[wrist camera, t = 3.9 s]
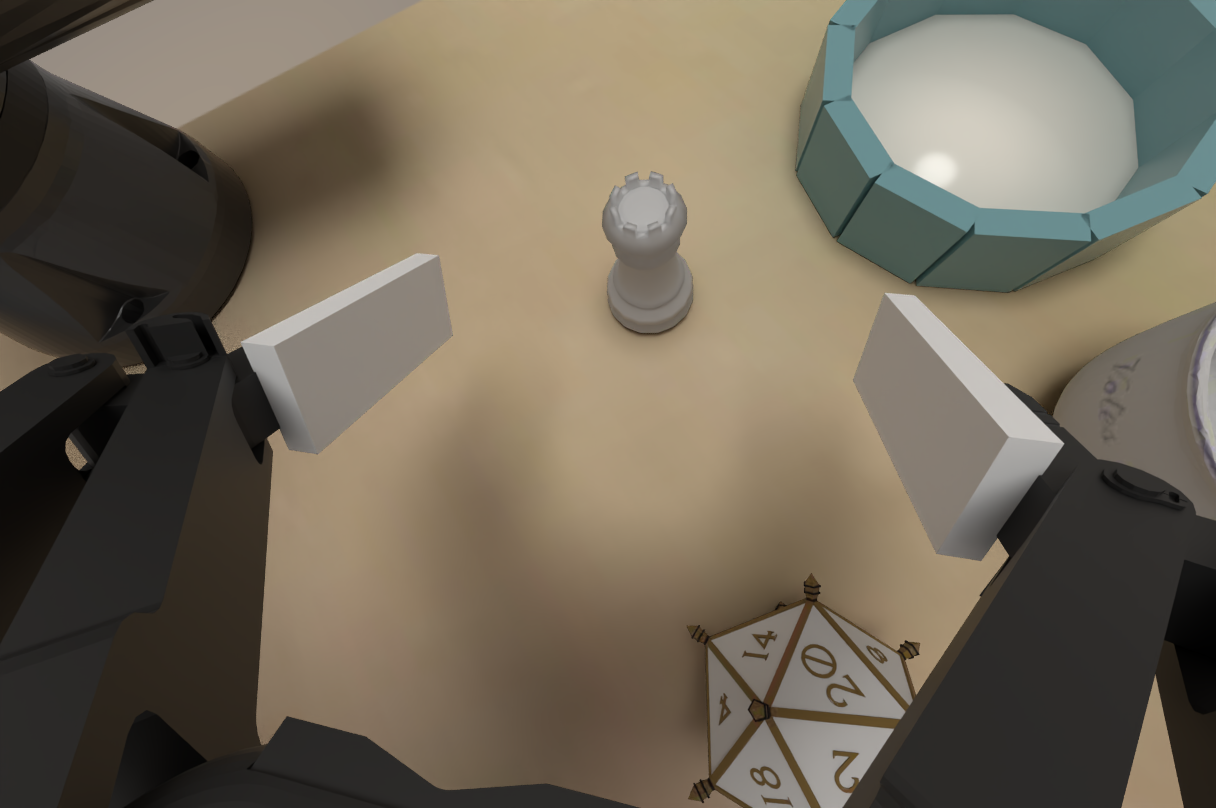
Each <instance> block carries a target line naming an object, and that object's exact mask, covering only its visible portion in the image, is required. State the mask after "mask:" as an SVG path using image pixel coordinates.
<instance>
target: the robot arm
mask: <svg viewBox="0 0 1216 808" xmlns="http://www.w3.org/2000/svg"><path fill="white" fill-rule="evenodd" d="M151 1H153V0H0V333H2V334H4V335H6V336H8V337H10V338H12V339H13V340H15V341H17V342H19V343H21V344H23V345H25V346H27V347H29V348H31V349H34V350H37V351H39V352H42V353H45V354H48V355H52V356H56V357H60V358H57V359H55V360H53V361H51V362H50V363H48V364H45V365H43V366H41V367H39V368H37V369H35V370H33V371H31V372H30V373H28V374H27V375H25V376H23V377H22V378H20V379H19V380H17V381H16V382H14V383H13V384H11V385H10V386H8V387H7V388H5V389H4V390H2V391H1V392H0V808H639V807H635V806H631V805H627V804H623V803H619V802H616V801H612V800H608V799H604V798H600V797H596V796H592V795H589V794H585V793H581V792H577V791H573V790H569V789H565V788H562V787H558V786H554V785H550V784H534V785H520V786H505V787H491V788H477V789H463V790H443V789H439V788H437V787H435V786H433V785H432V784H430V783H429V782H428V781H426V780H425V779H423V778H422V777H421V776H419V775H418V774H417V773H415V772H414V771H412V770H411V769H410V768H408V767H407V766H406V765H404V764H403V763H401V762H400V761H399V760H397V759H396V758H395V757H393V756H392V755H390V754H389V753H388V752H386V751H385V750H384V749H382V748H381V747H379V746H378V745H377V744H375V743H374V742H373V741H371V740H370V739H368V738H367V737H365V736H361V735H357V734H353V733H349V732H346V731H342V730H338V729H334V728H330V727H326V726H322V725H319V724H315V723H311V722H307V721H303V720H299V719H295V718H292V717H288V716H287V717H286V719H285V720H284V721H283V723H282V724H281V726H280V727H279V729H278V730H277V731H276V733H275V734H274V736H273V737H272V738H271V740H270V741H269V743H268V744H265V745H261V743H260V740H259V736H258V732H257V726H256V706H257V690H258V675H259V659H260V644H261V628H262V613H263V597H264V582H265V566H266V551H267V535H268V520H269V504H270V489H271V473H272V457H273V451H272V448H271V446H270V444H269V442H268V440H267V437H268V436H270V435H271V434H273V433H274V432H275V431H277V430H278V429H280V431H281V433H282V435H283V438H284V440H285V442H286V444H287V447H288V449H289V450H295V451H301V452H307V453H313V454H319V453H320V452H321V451H322V450H323V449H325V448H326V447H327V446H328V445H329V444H330V443H331V442H332V441H334V440H335V439H336V438H337V437H338V436H339V435H340V434H342V433H343V432H344V431H345V430H346V429H347V428H348V427H349V426H351V425H352V424H353V423H354V422H355V421H356V420H357V419H359V418H360V417H361V416H362V415H363V414H364V413H365V412H367V411H368V410H369V409H370V408H371V407H372V406H373V405H374V404H376V403H377V402H378V401H379V400H380V399H381V398H382V397H384V396H385V395H386V394H387V393H388V392H389V391H390V390H391V389H393V388H394V387H395V386H396V385H397V384H398V383H399V382H401V381H402V380H403V379H404V378H405V377H406V376H407V375H408V374H410V373H411V372H412V371H413V370H414V369H415V368H416V367H418V366H419V365H420V364H421V363H422V362H423V361H424V360H425V359H427V358H428V357H429V356H430V355H431V354H432V353H433V352H435V351H436V350H437V349H438V348H439V347H440V346H441V345H443V344H444V343H445V342H446V341H447V340H448V339H449V338H450V337H452V336H453V333H452V327H451V321H450V316H449V310H448V304H447V298H446V293H445V287H444V281H443V275H442V270H441V264H440V258H439V255H431V254H419V253H416V254H414V255H412V256H410V257H408V258H406V259H404V260H402V261H400V262H398V263H396V264H394V265H392V266H390V267H388V268H387V269H385V270H383V271H381V272H379V273H377V274H375V275H373V276H371V277H369V278H367V279H365V280H363V281H361V282H359V283H357V284H355V285H353V286H351V287H349V288H347V289H345V290H343V291H341V292H339V293H337V294H335V295H333V296H331V297H329V298H327V299H325V300H323V301H321V302H319V303H317V304H315V305H313V306H311V307H309V308H307V309H305V310H303V311H301V312H299V313H297V314H295V315H293V316H291V317H289V318H287V319H285V320H283V321H281V322H279V323H277V324H275V325H273V326H271V327H269V328H268V329H266V330H264V331H262V332H260V333H258V334H256V335H254V336H252V337H250V338H248V339H246V340H244V341H242V342H241V344H242V347H241V348H239V349H237V350H235V351H233V352H231V353H229V354H227V353H226V351H225V349H224V347H223V345H222V343H221V341H220V339H219V336H218V334H217V332H216V330H215V328H214V326H213V324H212V322H211V320H210V319H211V318H212V316H213V315H214V314H215V313H216V312H217V311H218V309H219V308H220V307H221V306H222V304H223V303H224V302H225V300H226V299H227V297H228V296H229V294H230V292H231V291H232V289H233V287H234V286H235V284H236V282H237V280H238V278H239V276H240V273H241V271H242V269H243V266H244V263H245V261H246V257H247V254H248V250H249V245H250V239H251V229H252V217H251V209H250V203H249V199H248V196H247V193H246V191H245V188H244V186H243V184H242V182H241V181H240V179H239V177H238V176H237V175H236V173H235V172H234V171H233V170H232V169H231V168H230V167H229V166H228V165H227V164H226V163H225V162H223V161H222V160H221V159H220V158H218V157H217V156H216V155H214V154H213V153H212V152H211V151H209V150H208V149H207V148H205V147H204V146H203V145H201V144H200V143H199V142H198V141H196V140H195V139H193V138H192V137H190V136H189V135H187V134H185V133H184V132H182V131H180V130H178V129H176V128H174V127H172V126H169V125H167V124H165V123H162V122H160V121H158V120H156V119H154V118H151V117H149V116H147V115H144V114H142V113H140V112H138V111H135V110H133V109H131V108H129V107H126V106H124V105H122V104H119V103H117V102H115V101H113V100H110V99H108V98H106V97H104V96H101V95H99V94H97V93H94V92H92V91H90V90H87V89H85V88H83V87H81V86H78V85H76V84H74V83H72V82H69V81H67V80H65V79H63V78H60V77H58V76H56V75H53V74H51V73H50V72H48V71H46V70H44V69H43V68H41V67H40V66H38V65H37V64H35V63H34V62H32V61H31V60H29V59H31V58H33V57H35V56H37V55H39V54H41V53H43V52H46V51H48V50H50V49H52V48H54V47H56V46H58V45H60V44H62V43H65V42H67V41H69V40H71V39H73V38H75V37H77V36H79V35H81V34H84V33H86V32H88V31H90V30H92V29H94V28H96V27H98V26H100V25H102V24H105V23H107V22H109V21H111V20H113V19H115V18H117V17H119V16H121V15H124V14H126V13H128V12H130V11H132V10H134V9H136V8H138V7H141V6H143V5H145V4H146V3H149V2H151ZM141 362H144V364H145V366H146V367H147V370H146V372H145V374H128V375H126V373H125V371H124V370H123V368H122V366H128V365H133V364H138V363H141ZM853 381H854V383H855V385H856V387H857V390H858V392H859V394H860V396H861V398H862V400H863V402H864V404H865V406H866V408H867V410H868V412H869V415H870V417H871V419H872V421H873V423H874V425H875V427H876V429H877V431H878V433H879V435H880V437H881V440H882V442H883V444H884V446H885V448H886V450H887V452H888V454H889V456H890V458H891V460H892V462H893V464H894V467H895V469H896V471H897V473H898V475H899V477H900V479H901V481H902V483H903V485H904V487H905V489H906V492H907V494H908V496H909V498H910V500H911V502H912V504H913V506H914V508H915V510H916V512H917V514H918V516H919V519H920V521H921V523H922V525H923V527H924V529H925V531H926V533H927V535H928V537H929V539H930V541H931V544H932V546H933V548H934V550H935V552H936V554H941V555H947V556H954V557H960V558H966V559H972V560H979V561H982V559H983V558H984V556H985V555H986V553H987V552H988V551H989V549H990V548H991V546H992V545H993V544H994V542H995V541H996V539H997V538H998V539H999V540H1000V542H1001V544H1002V545H1003V547H1004V548H1005V550H1006V551H1007V553H1008V555H1009V557H1008V558H1007V560H1006V561H1005V562H1004V564H1003V565H1002V566H1001V568H1000V569H999V570H998V572H997V573H996V574H995V576H994V577H993V578H992V580H991V581H990V582H989V584H988V585H987V586H986V588H985V589H984V590H983V592H982V593H981V594H980V595H979V596H981V598H980V599H979V601H978V602H977V604H976V605H975V607H974V608H973V610H972V611H971V613H970V614H969V616H968V618H967V619H966V621H965V622H964V624H963V625H962V627H961V628H960V630H959V631H958V633H957V634H956V636H955V637H954V639H953V640H952V642H951V643H950V645H949V646H948V648H947V649H946V651H945V652H944V654H943V656H942V657H941V659H940V660H939V662H938V663H937V665H936V666H935V668H934V669H933V671H932V672H931V674H930V675H929V677H928V678H927V680H926V681H925V683H924V684H923V686H922V687H921V689H920V690H919V692H918V694H917V695H916V697H915V698H914V700H913V701H912V703H911V704H910V706H909V707H908V709H907V710H906V712H905V713H904V715H903V716H902V718H901V719H900V721H899V722H898V724H897V725H896V727H895V728H894V730H893V732H892V733H891V735H890V736H889V738H888V739H887V741H886V742H885V744H884V745H883V747H882V748H881V750H880V751H879V753H878V754H877V756H876V757H875V759H874V760H873V762H872V763H871V765H870V766H869V768H868V770H867V771H866V773H865V774H864V776H863V777H862V779H861V780H860V782H859V783H858V785H857V786H856V788H855V789H854V791H853V792H852V794H851V795H850V797H849V798H848V800H847V801H846V803H845V804H844V806H843V808H1121V807H1122V803H1123V799H1124V795H1125V791H1126V787H1127V783H1128V779H1129V775H1130V771H1131V767H1132V763H1133V759H1134V755H1135V752H1136V748H1137V744H1138V740H1139V736H1140V732H1141V728H1142V724H1143V720H1144V716H1145V712H1146V708H1147V704H1148V700H1149V696H1150V692H1151V689H1152V685H1153V681H1154V677H1155V674H1156V679H1157V683H1158V688H1159V693H1160V697H1161V702H1162V707H1163V712H1164V716H1165V721H1166V726H1167V730H1168V735H1169V740H1170V744H1171V749H1172V754H1173V758H1174V763H1175V768H1176V773H1177V777H1178V782H1179V787H1180V791H1181V796H1182V801H1183V805H1184V808H1216V520H1212V519H1209V518H1205V517H1202V516H1198V515H1196V511H1195V508H1194V504H1193V502H1191V501H1190V500H1189V499H1188V498H1187V497H1186V496H1185V495H1184V494H1183V493H1182V492H1181V491H1180V490H1178V489H1177V488H1175V487H1174V486H1172V485H1170V484H1169V483H1167V482H1166V481H1164V480H1162V479H1160V478H1158V477H1156V476H1154V475H1152V474H1149V473H1147V472H1145V471H1143V470H1140V469H1137V468H1134V467H1131V466H1128V465H1125V464H1122V463H1118V462H1113V461H1107V460H1101V459H1097V458H1096V457H1094V456H1093V455H1092V454H1091V453H1090V452H1089V451H1088V450H1087V449H1086V448H1085V447H1084V446H1083V445H1082V444H1081V443H1080V442H1079V441H1078V440H1077V439H1075V438H1074V437H1073V436H1072V435H1071V434H1070V433H1069V432H1068V431H1067V430H1066V429H1065V428H1064V427H1060V423H1059V422H1057V421H1056V420H1055V419H1054V418H1053V417H1052V416H1051V415H1047V411H1046V410H1045V409H1044V408H1043V407H1042V406H1041V405H1040V404H1038V403H1037V402H1036V401H1035V400H1034V399H1033V398H1032V397H1030V396H1029V395H1027V394H1025V393H1023V392H1022V391H1020V390H1018V389H1017V388H1015V387H1013V386H1011V385H1010V384H1006V383H1003V382H1002V381H1001V380H1000V379H999V378H998V377H997V376H996V375H995V374H993V373H992V372H991V371H990V370H989V369H988V368H987V367H986V366H985V365H984V364H983V363H982V362H981V361H980V360H979V359H978V358H977V357H976V356H975V355H974V354H973V353H972V352H971V351H970V350H969V349H968V348H967V347H966V346H965V345H964V344H963V343H962V342H961V341H960V340H959V339H958V338H957V337H956V336H955V335H954V334H953V333H952V332H951V331H950V330H949V329H948V328H947V327H946V326H945V325H944V324H943V323H942V322H941V321H940V320H939V319H938V318H937V317H936V316H935V315H934V314H933V313H932V312H931V311H930V310H929V309H928V308H927V307H926V306H925V305H924V304H923V303H922V302H921V301H920V300H919V299H918V298H917V297H916V296H915V295H904V294H893V293H884V295H883V298H882V301H881V304H880V306H879V309H878V312H877V315H876V318H875V320H874V323H873V326H872V329H871V331H870V334H869V337H868V340H867V343H866V345H865V348H864V351H863V354H862V356H861V359H860V362H859V365H858V368H857V370H856V373H855V376H854V379H853ZM68 437H69V438H70V440H71V441H72V442H73V444H74V445H75V446H76V448H77V449H78V450H79V451H80V453H81V454H82V455H83V457H84V458H85V459H86V461H87V463H86V464H85V465H84V466H83V467H82V468H81V469H80V470H78V469H76V468H75V467H74V466H73V465H72V463H71V462H70V461H69V459H68V456H67V454H66V452H65V446H66V440H67V438H68Z"/></svg>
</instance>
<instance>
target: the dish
mask: <svg viewBox="0 0 1216 808" xmlns="http://www.w3.org/2000/svg"><path fill="white" fill-rule="evenodd" d="M795 171H798V172H797V177H798V179H799V180H800V182H801V184H802V185H803V187H804V189H805V191H806V192H807V194H808V196H809V197H810V199H811V201H812V203H813V204H814V206H815V208H816V209H817V211H818V213H819V215H820V216H821V218H822V220H823V221H824V223H825V225H826V226H827V228H828V230H829V232H830V233H831V235H832V237H835V236H838V235H840V234H841V236H840V237H839V239H838V240H837V242H839V243H841V244H842V245H844V246H846V247H848V248H849V249H851V250H853V251H855V252H856V253H858V254H860V255H862V256H863V257H865V258H867V259H868V260H870V261H872V262H874V263H875V264H877V265H879V266H881V267H882V268H884V269H886V270H887V271H889V272H891V273H893V274H894V275H896V276H898V277H900V278H901V279H903V280H905V281H907V282H908V283H912V282H913V281H914V280H915V279H916V285H917V286H930V287H943V288H956V289H969V290H982V291H995V292H1010V291H1012V290H1014V291H1017V290H1020V289H1022V288H1025V287H1027V286H1030V285H1032V284H1035V283H1037V282H1039V281H1042V280H1044V279H1047V278H1049V277H1052V276H1054V275H1057V274H1059V273H1062V272H1064V271H1066V270H1069V269H1071V268H1074V267H1076V266H1079V265H1081V264H1084V263H1086V262H1089V261H1091V260H1093V259H1096V258H1098V257H1100V256H1101V255H1103V254H1105V253H1107V252H1108V251H1110V250H1112V249H1114V248H1115V247H1117V246H1119V245H1121V244H1122V243H1124V242H1126V241H1128V240H1129V239H1131V238H1133V237H1135V236H1136V235H1138V234H1140V233H1142V232H1143V231H1145V230H1147V229H1149V228H1150V227H1152V226H1154V225H1156V224H1157V223H1159V222H1161V221H1163V220H1164V219H1166V218H1168V217H1170V216H1171V215H1173V214H1175V213H1177V212H1178V211H1180V210H1182V209H1184V208H1185V207H1187V206H1189V205H1191V204H1192V203H1194V202H1196V201H1198V200H1199V199H1201V197H1203V196H1204V195H1206V194H1208V192H1209V191H1210V189H1211V188H1212V186H1213V185H1214V183H1215V182H1216V0H846V1H845V2H844V4H843V5H842V6H841V7H840V9H839V10H838V11H837V12H836V13H835V15H834V16H833V17H832V18H831V20H830V22H829V25H828V26H827V29H826V32H825V35H824V38H823V41H822V44H821V47H820V50H819V53H818V56H817V59H816V62H815V65H814V68H813V71H812V74H811V77H810V80H809V83H808V86H807V89H806V92H805V95H804V98H803V101H802V104H801V108H800V120H799V133H798V145H797V157H796V169H795Z"/></svg>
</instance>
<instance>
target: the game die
mask: <svg viewBox="0 0 1216 808" xmlns="http://www.w3.org/2000/svg"><path fill="white" fill-rule="evenodd" d="M804 586H805V588H804V593H806V598H805V599H803V600H800V601H798V602H795V603H793V604H790V605H788V606H787V605H784V604H783V603H782V602H780V603H779V604H778V606H777V607H776V609H775V611H773V612H770V613H768V614H765V615H763V616H760V617H758V618H755V619H753V620H750V621H748V622H745V623H743V624H740V625H738V626H735V627H733V628H730V629H728V630H725V631H723V632H720V633H718V634H715V635H713V636H708V635H707V634H706V633H705V630H702V629H701V628H700V625H698V626H687V628H688V630H689V632H690V634H691V636H692V639H693V638H694V639H696V640H697V642H701V643H704V645H705V657H706V691H707V726H708V761H709V778H708V779H706V780H701V779H700V782H698V783H697V784H695V783H693V784H694V786H693V789H692V791H691V793H690V795H689V798H688V799H690V800H697V801H702V803H704V801H703V800H704V799H705V798H707V797H708V798H710V797H709V795H710V793H711V792H712V791H713V790H716V791H718V792H719V793H721V794H722V795H724V796H726V797H727V798H729V799H730V800H732V801H733V802H735V803H737V804H738V805H740V806H741V807H743V808H843V806H844V804H845V803H846V801H847V800H848V798H849V797H850V795H851V794H852V792H853V791H854V789H855V788H856V786H857V785H858V783H859V782H860V780H861V779H862V777H863V776H864V774H865V773H866V771H867V770H868V768H869V766H870V765H871V763H872V762H873V760H874V759H875V757H876V756H877V754H878V753H879V751H880V750H881V748H882V747H883V745H884V744H885V742H886V741H887V739H888V738H889V736H890V735H891V733H892V732H893V730H894V728H895V727H896V725H897V724H898V722H899V721H900V719H901V718H902V716H903V715H904V713H905V712H906V710H907V709H908V707H909V706H910V704H911V703H912V701H913V700H914V698H915V697H916V693H915V690H914V687H913V684H912V681H911V678H910V675H909V671H908V668H907V665H906V662H905V660H906V659H907V658H908V659H912V658H914V656H917V655H920V654H919V653H918V652H919V646H920V643H915V642H908V641H906V640H905V643H904V644H903V645H902V644H900V649H899V650H898V651H896V650H894V649H893V648H891V647H889V646H888V645H886V644H885V643H883V642H881V641H880V640H878V639H877V638H875V637H874V636H872V635H870V634H869V633H867V632H866V631H864V630H863V629H861V628H859V627H858V626H856V625H855V624H853V623H851V622H850V621H848V620H847V619H845V618H844V617H842V616H840V615H839V614H837V613H836V612H834V611H833V610H831V609H829V608H828V607H826V606H825V605H823V604H821V603H820V602H818V601H817V596H818V594H820V592H819V587H821V585H819V584H818V583H817V581H816V579H815V578H814V576H813V575H812V573H811V575H810V576H809V577H808V579H807V580H806V581H804Z"/></svg>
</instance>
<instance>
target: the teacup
mask: <svg viewBox="0 0 1216 808" xmlns="http://www.w3.org/2000/svg"><path fill="white" fill-rule="evenodd" d="M1053 418H1054V419H1055V420H1056V421H1057V422H1059V423H1060V427H1064V428H1065V429H1066V430H1067V431H1068V432H1069V433H1070V434H1071V435H1072V436H1073V437H1074V438H1075V439H1077V440H1078V441H1079V442H1080V443H1081V444H1082V445H1083V446H1084V447H1085V448H1086V449H1087V450H1088V451H1089V452H1090V453H1091V454H1092V455H1093V456H1094V457H1096V458H1097V459H1101V460H1107V461H1113V462H1118V463H1122V464H1125V465H1128V466H1131V467H1134V468H1137V469H1140V470H1143V471H1145V472H1147V473H1149V474H1152V475H1154V476H1156V477H1158V478H1160V479H1162V480H1164V481H1166V482H1167V483H1169V484H1170V485H1172V486H1174V487H1175V488H1177V489H1178V490H1180V491H1181V492H1182V493H1183V494H1184V495H1185V496H1186V497H1187V498H1188V499H1189V500H1190V501H1191V502H1193V504H1194V508H1195V511H1196V515H1198V516H1202V517H1205V518H1209V519H1212V520H1216V302H1215V303H1212V304H1210V305H1207V306H1205V307H1202V308H1200V309H1197V310H1195V311H1192V312H1190V313H1187V314H1185V315H1182V316H1180V317H1177V318H1175V319H1172V320H1169V321H1167V322H1165V323H1162V324H1160V325H1158V326H1155V327H1153V328H1151V329H1148V330H1146V331H1144V332H1141V333H1139V334H1137V335H1135V336H1133V337H1131V338H1129V339H1126V340H1124V341H1122V342H1120V343H1118V344H1117V345H1115V346H1113V347H1111V348H1109V349H1108V350H1106V351H1104V352H1103V353H1101V354H1100V355H1098V356H1097V357H1095V358H1094V359H1093V360H1091V361H1090V362H1089V363H1088V364H1086V365H1085V366H1084V367H1083V368H1082V369H1081V370H1080V371H1079V372H1078V373H1077V374H1076V375H1075V376H1074V377H1073V378H1072V379H1071V380H1070V382H1069V383H1068V384H1067V386H1066V387H1065V388H1064V390H1063V392H1062V394H1061V396H1060V398H1059V400H1058V402H1057V405H1056V407H1055V410H1054V414H1053Z"/></svg>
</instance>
